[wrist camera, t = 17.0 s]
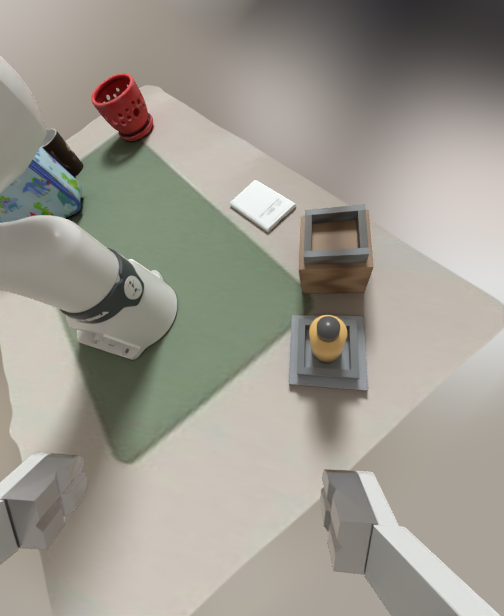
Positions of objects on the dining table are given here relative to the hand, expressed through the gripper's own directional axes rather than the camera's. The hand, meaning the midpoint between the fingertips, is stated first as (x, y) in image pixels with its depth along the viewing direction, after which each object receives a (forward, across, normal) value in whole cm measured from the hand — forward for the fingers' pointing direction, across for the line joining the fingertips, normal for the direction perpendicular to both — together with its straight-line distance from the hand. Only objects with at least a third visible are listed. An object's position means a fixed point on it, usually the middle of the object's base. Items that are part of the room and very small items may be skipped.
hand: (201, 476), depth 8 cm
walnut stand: (+39, -14, -4) cm, 41 cm away
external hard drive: (+51, -1, -15) cm, 54 cm away
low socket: (+30, -12, +8) cm, 33 cm away
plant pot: (+81, +39, -42) cm, 99 cm away
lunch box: (+66, +60, -14) cm, 91 cm away
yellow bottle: (+29, -12, +8) cm, 32 cm away
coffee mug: (+77, +59, -29) cm, 101 cm away
